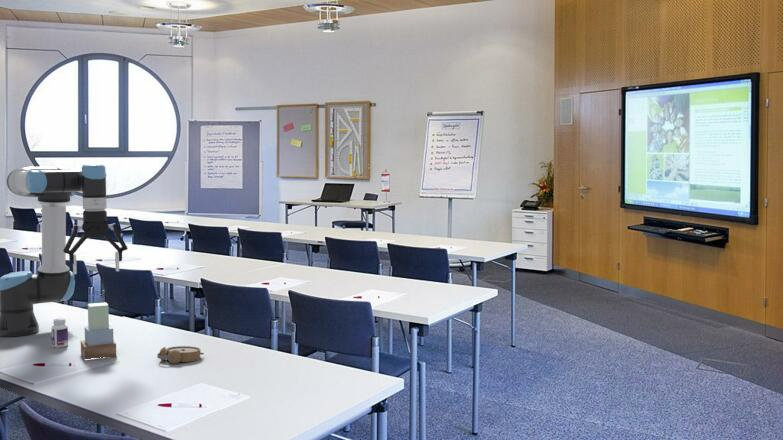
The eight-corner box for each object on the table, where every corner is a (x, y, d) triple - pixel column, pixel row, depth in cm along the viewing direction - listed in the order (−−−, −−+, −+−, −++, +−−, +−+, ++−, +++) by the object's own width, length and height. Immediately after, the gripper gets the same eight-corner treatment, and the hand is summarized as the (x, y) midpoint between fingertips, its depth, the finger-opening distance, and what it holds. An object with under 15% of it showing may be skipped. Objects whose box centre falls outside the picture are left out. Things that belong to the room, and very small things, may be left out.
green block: (88, 326, 259) (87, 303, 259) (106, 325, 262) (106, 302, 261) (90, 330, 254) (89, 306, 253) (108, 328, 257) (108, 305, 256)
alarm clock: (208, 350, 255) (169, 350, 244) (206, 364, 255) (167, 365, 244) (188, 345, 262) (150, 345, 251) (186, 359, 262) (148, 360, 251)
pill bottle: (71, 344, 274) (70, 318, 273) (63, 348, 269) (62, 321, 268) (57, 344, 275) (56, 317, 274) (49, 347, 269) (48, 320, 269)
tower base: (81, 355, 260) (80, 340, 260) (111, 351, 265) (111, 337, 265) (85, 361, 252) (84, 346, 251) (116, 357, 257) (116, 343, 256)
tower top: (84, 341, 260) (84, 326, 259) (109, 338, 264) (109, 324, 263) (88, 345, 253) (88, 331, 252) (113, 343, 257) (113, 328, 256)
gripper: (55, 211, 246) (57, 276, 247) (135, 209, 258) (136, 271, 260) (53, 210, 252) (55, 273, 254) (131, 208, 264) (132, 268, 266)
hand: (96, 272), depth 257 cm, fingers open, 13 cm apart
